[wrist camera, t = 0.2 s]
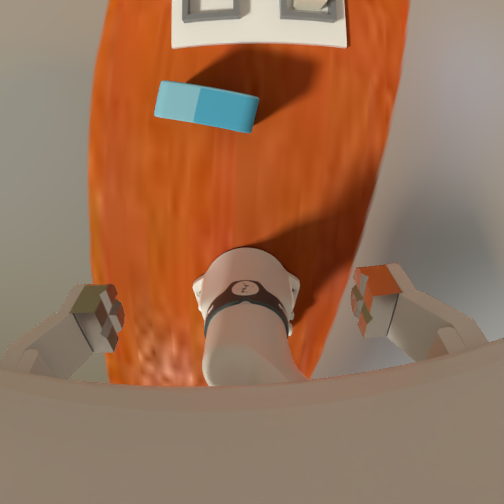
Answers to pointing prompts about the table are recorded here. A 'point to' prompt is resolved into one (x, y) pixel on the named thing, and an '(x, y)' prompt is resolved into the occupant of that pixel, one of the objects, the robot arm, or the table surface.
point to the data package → (206, 106)
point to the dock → (256, 23)
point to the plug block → (309, 4)
